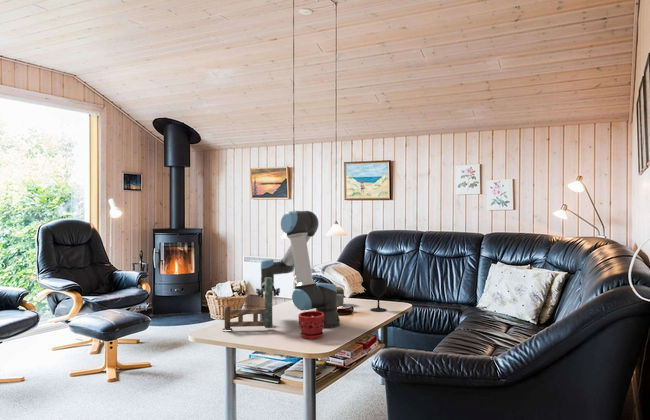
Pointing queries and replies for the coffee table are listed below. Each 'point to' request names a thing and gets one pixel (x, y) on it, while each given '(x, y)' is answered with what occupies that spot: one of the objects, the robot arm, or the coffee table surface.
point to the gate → (252, 311)
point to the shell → (340, 290)
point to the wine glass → (378, 291)
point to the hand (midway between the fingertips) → (268, 296)
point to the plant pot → (311, 324)
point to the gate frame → (262, 318)
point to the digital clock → (340, 300)
